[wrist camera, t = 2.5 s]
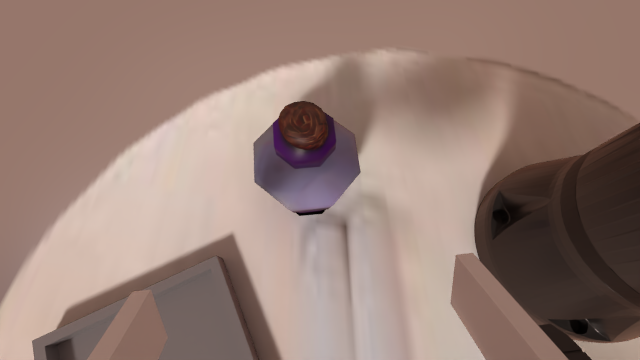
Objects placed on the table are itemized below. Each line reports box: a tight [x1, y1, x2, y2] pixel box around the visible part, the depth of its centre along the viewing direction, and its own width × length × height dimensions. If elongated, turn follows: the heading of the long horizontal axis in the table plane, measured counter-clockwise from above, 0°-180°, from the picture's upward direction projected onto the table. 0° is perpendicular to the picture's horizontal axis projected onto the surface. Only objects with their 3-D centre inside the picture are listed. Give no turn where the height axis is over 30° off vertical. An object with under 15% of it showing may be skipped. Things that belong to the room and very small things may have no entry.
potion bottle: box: [254, 101, 360, 216], centre depth 25 cm, size 9×9×12 cm
